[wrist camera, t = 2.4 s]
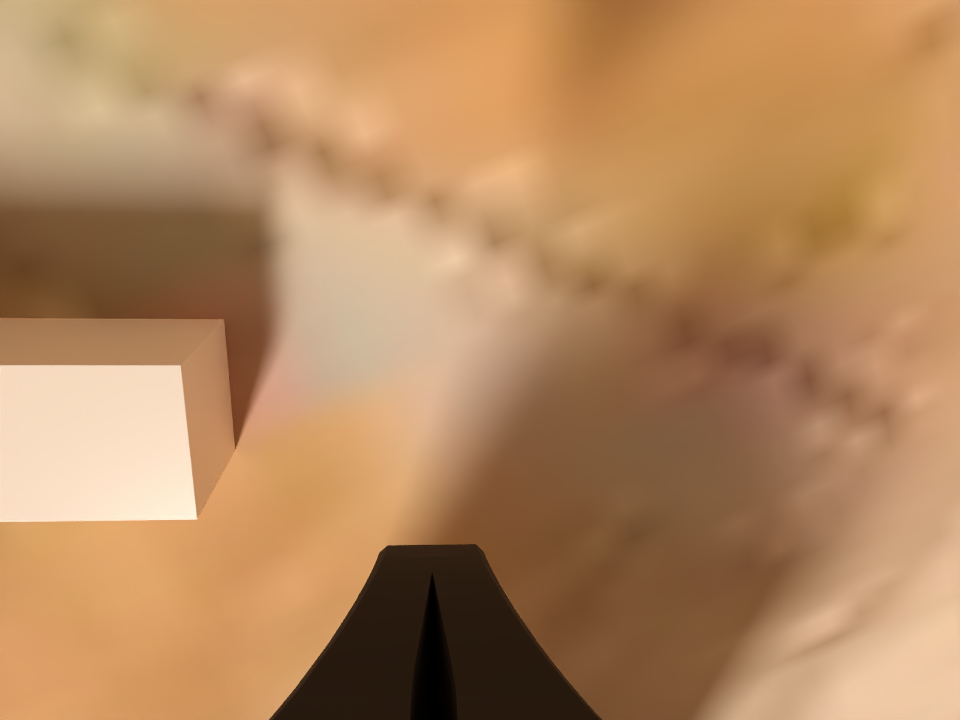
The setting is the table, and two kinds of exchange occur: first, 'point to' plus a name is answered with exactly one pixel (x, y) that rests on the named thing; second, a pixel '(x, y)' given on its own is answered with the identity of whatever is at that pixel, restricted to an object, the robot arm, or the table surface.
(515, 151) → the table surface
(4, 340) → the plug
